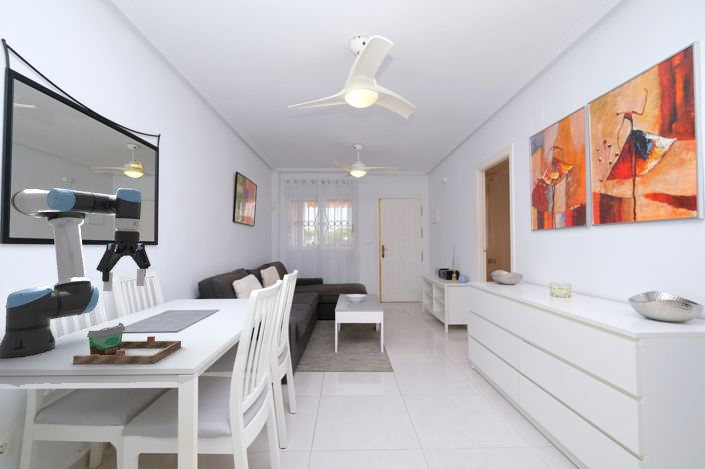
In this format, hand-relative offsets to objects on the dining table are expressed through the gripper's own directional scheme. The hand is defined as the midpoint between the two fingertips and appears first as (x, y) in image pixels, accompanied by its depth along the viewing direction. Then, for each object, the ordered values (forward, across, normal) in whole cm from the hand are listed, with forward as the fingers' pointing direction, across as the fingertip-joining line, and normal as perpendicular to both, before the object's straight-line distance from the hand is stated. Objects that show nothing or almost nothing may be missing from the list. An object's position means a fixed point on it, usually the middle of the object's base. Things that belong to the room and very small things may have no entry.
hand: (124, 288), depth 113 cm
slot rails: (+24, 0, -3) cm, 24 cm away
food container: (+24, -1, +4) cm, 25 cm away
